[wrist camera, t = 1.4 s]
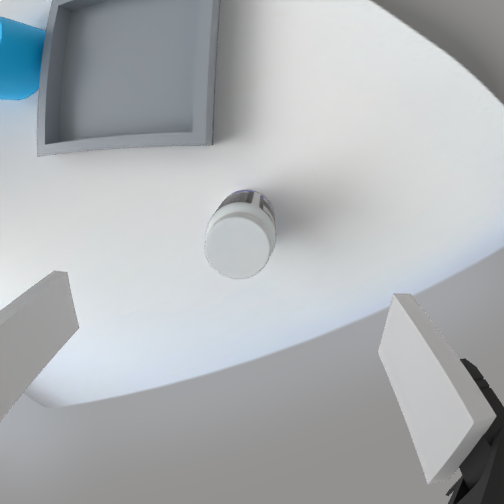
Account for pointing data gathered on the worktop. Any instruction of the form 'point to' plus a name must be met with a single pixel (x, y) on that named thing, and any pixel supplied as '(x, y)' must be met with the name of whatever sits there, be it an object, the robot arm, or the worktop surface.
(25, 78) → the mug
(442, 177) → the worktop surface
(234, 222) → the pill bottle
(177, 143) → the tray
